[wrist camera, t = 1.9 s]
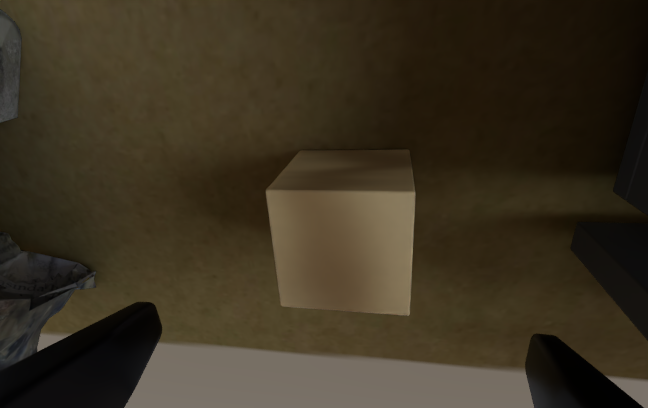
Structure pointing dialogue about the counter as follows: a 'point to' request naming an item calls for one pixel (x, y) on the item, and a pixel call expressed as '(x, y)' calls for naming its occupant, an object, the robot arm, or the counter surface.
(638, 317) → the pulled-out drawer
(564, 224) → the counter surface
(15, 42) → the foil
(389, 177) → the block
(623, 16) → the counter surface
